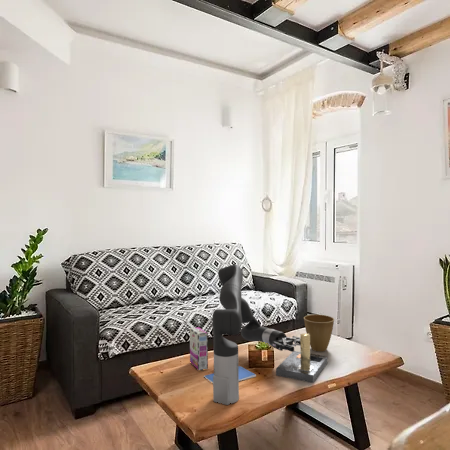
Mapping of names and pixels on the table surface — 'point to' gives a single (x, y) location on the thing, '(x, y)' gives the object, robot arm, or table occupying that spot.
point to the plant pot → (319, 331)
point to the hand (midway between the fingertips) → (300, 347)
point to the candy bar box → (199, 348)
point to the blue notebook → (243, 374)
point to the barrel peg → (305, 350)
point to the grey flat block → (294, 370)
